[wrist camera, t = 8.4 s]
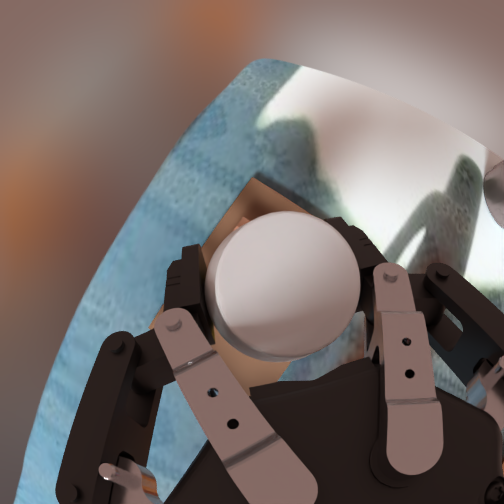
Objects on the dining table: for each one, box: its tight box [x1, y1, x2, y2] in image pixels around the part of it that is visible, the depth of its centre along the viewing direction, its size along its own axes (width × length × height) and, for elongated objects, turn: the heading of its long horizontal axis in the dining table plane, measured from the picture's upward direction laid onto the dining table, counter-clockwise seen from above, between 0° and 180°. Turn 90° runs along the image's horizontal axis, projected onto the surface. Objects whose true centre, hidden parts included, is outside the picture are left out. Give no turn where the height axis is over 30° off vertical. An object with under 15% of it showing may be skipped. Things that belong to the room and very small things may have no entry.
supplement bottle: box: [205, 211, 360, 362], centre depth 12 cm, size 5×5×10 cm
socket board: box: [148, 177, 311, 396], centre depth 27 cm, size 18×13×4 cm
